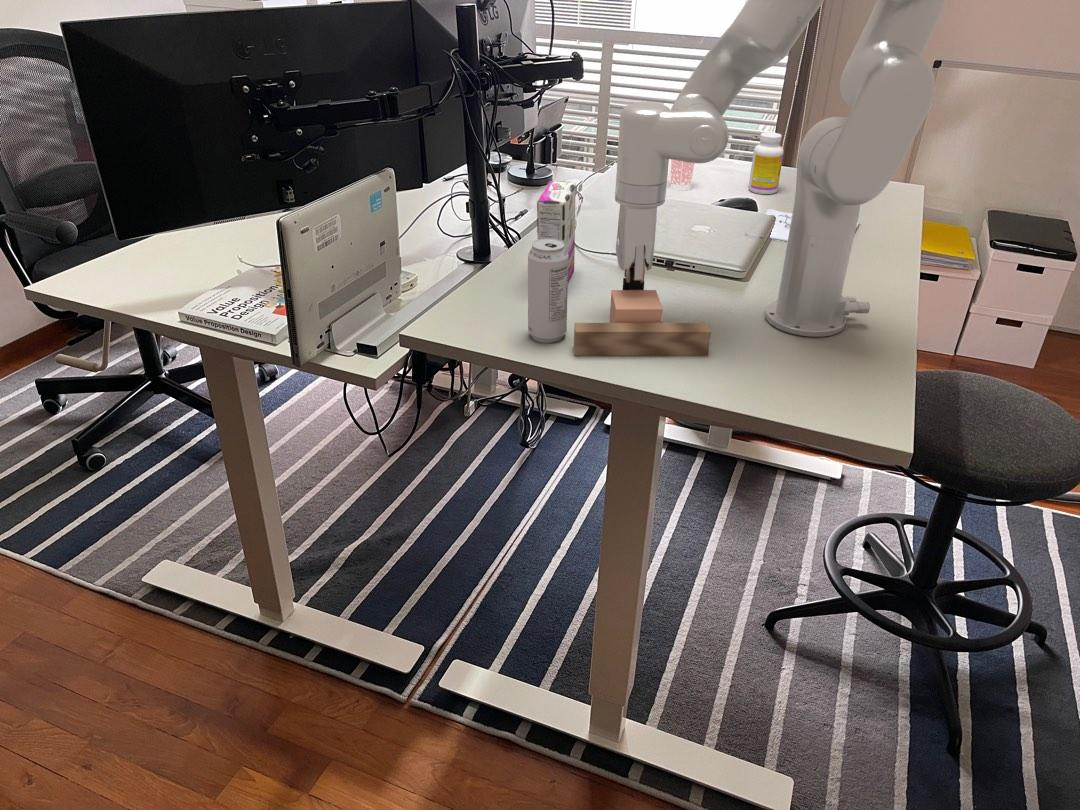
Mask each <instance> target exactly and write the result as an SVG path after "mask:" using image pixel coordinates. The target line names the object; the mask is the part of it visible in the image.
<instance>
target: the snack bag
mask: <svg viewBox="0 0 1080 810" xmlns="http://www.w3.org/2000/svg"><path fill="white" fill-rule="evenodd" d="M764 214H767V215H775V217H776V221H775V225H774V228H773V229H772V232H771V235H770V238H771V239H772V240H771V241H776V240H780V241H779V242H781V241H784V242H783V243H787V242H788V237H789V231H790V225H791V220H792V214H793V212H785V211H780V210H776V209H773V208H767V209H766V211H765V213H764ZM860 222H861V219H859V218H858V222H857V227H856V229H857V228H858V227H859V225H860Z"/></svg>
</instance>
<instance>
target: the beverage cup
mask: <svg viewBox="0 0 1080 810" xmlns="http://www.w3.org/2000/svg"><path fill="white" fill-rule="evenodd" d="M670 160H671V161H670V189H671V190H673V191H676V192H686V191H689V190H691V185H692V180H693V172H694V168H695V167H694V166H695V163H689V162H684V161H678V160H673V159H670Z"/></svg>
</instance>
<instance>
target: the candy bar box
mask: <svg viewBox="0 0 1080 810" xmlns="http://www.w3.org/2000/svg"><path fill="white" fill-rule="evenodd" d="M576 185H577V182H572V181H562V180H561V181H557V180H551V181H549V182H548V183H547V185H546V187H545V188H544V190H543V192H542V193H541V195H540V196H539V198H538V199H537V201H536V211H537V212H536V213H537V214H536V215H537V217H536V219H537V220H536V221H537V222H536V223H537V224H536V225H537V228H536V230H537V231H536V232H537V233H536V234H537V235H536V236H537V239H536V240H538V239H545V238H551V239H558V240H561V241H563V242H564V244H565V249H566V251H567V253H568V255H569V258H568V284H569V282H570V280H571V278H572V275H573V274H574V272H575V252H576V250H575V249H576V247H575V246H576V245H575V242H576V237H575V236H576V195H577V194H576V192H577V191H576Z"/></svg>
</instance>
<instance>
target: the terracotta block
mask: <svg viewBox="0 0 1080 810" xmlns="http://www.w3.org/2000/svg"><path fill="white" fill-rule="evenodd" d="M609 310H610V311H609V323H663V321H662V320H663V310H664V309H663V307H662V303H661V300H660V297H659V295H658V292H657V290H656V289H644V290H623V289H612V290H611V291H610V307H609Z"/></svg>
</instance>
